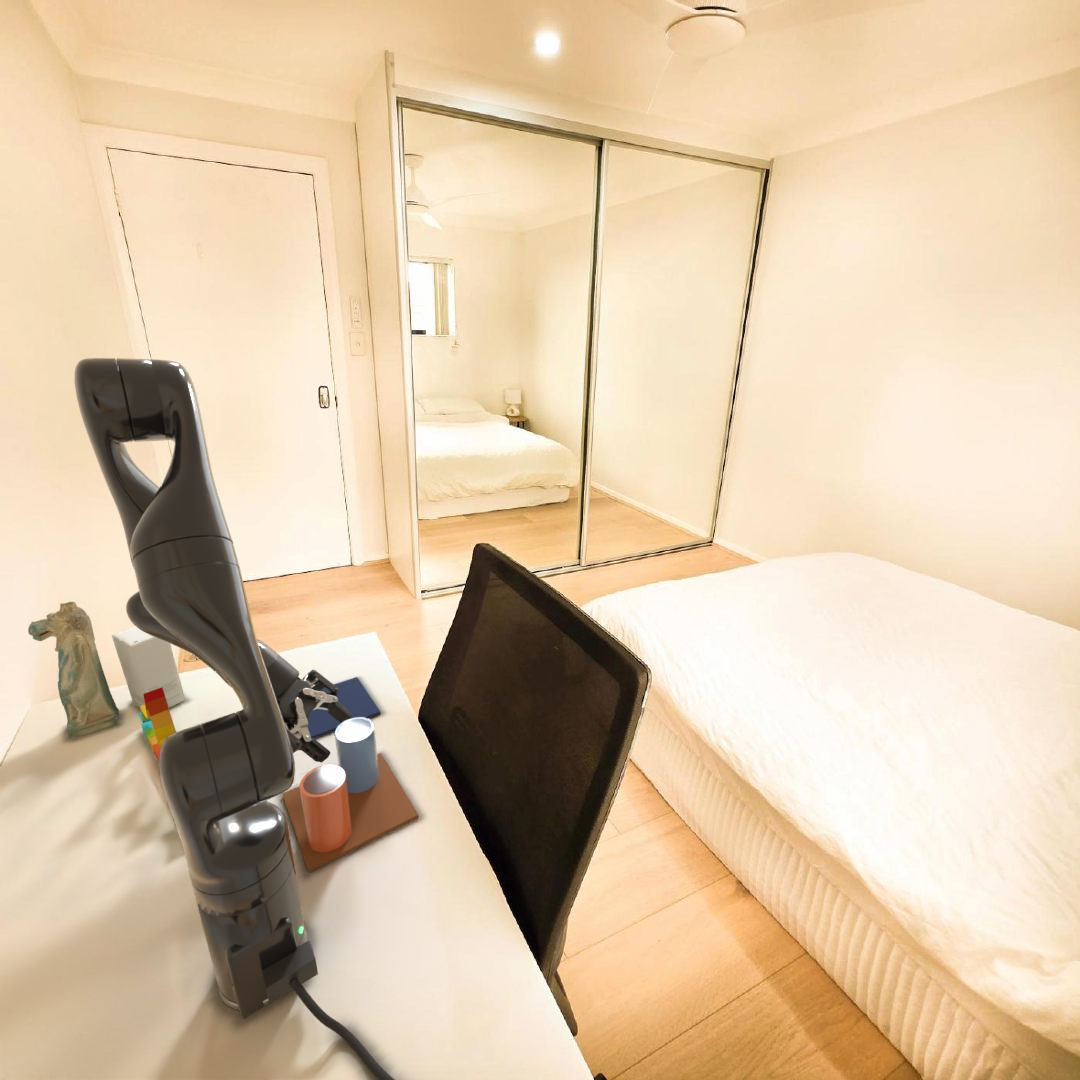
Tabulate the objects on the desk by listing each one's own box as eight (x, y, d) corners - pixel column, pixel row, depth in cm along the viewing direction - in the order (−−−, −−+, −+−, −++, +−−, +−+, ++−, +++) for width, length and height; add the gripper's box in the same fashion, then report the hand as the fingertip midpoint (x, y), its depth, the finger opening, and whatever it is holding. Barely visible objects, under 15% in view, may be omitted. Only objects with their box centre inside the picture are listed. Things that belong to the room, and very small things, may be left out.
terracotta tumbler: (357, 838, 76) (351, 784, 73) (314, 860, 73) (305, 804, 70) (344, 811, 81) (338, 758, 78) (303, 829, 78) (294, 775, 74)
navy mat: (380, 713, 104) (380, 711, 103) (305, 741, 96) (304, 739, 96) (357, 679, 114) (357, 676, 114) (287, 701, 106) (287, 699, 106)
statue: (60, 727, 97) (20, 605, 89) (117, 707, 103) (84, 591, 95) (65, 746, 93) (23, 619, 85) (124, 724, 99) (90, 603, 90)
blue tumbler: (384, 782, 86) (380, 732, 83) (347, 799, 83) (341, 747, 80) (371, 760, 91) (367, 712, 88) (335, 775, 88) (329, 725, 84)
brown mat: (418, 817, 81) (418, 814, 81) (308, 872, 72) (308, 869, 72) (381, 755, 93) (380, 752, 93) (282, 796, 84) (282, 793, 84)
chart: (220, 820, 79) (201, 739, 74) (196, 833, 77) (175, 750, 72) (164, 725, 99) (146, 655, 94) (143, 733, 97) (124, 662, 92)
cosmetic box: (186, 700, 106) (170, 631, 100) (149, 718, 100) (130, 646, 95) (165, 686, 110) (149, 619, 105) (128, 702, 105) (109, 633, 99)
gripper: (245, 686, 74) (333, 759, 77) (296, 635, 87) (369, 698, 90) (214, 715, 76) (302, 784, 79) (269, 661, 89) (342, 722, 92)
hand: (338, 738), depth 85 cm, fingers open, 8 cm apart
